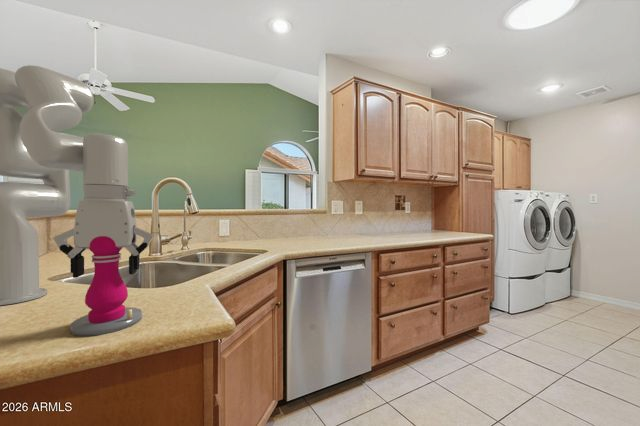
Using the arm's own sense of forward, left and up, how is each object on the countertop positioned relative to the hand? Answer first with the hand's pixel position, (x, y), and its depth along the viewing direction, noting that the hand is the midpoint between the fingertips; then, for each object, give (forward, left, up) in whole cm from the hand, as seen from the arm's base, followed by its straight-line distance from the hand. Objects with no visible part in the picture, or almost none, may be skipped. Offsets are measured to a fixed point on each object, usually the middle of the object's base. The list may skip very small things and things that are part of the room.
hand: (106, 274), depth 59 cm
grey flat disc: (0, 0, -10) cm, 10 cm away
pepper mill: (0, 0, -9) cm, 9 cm away
